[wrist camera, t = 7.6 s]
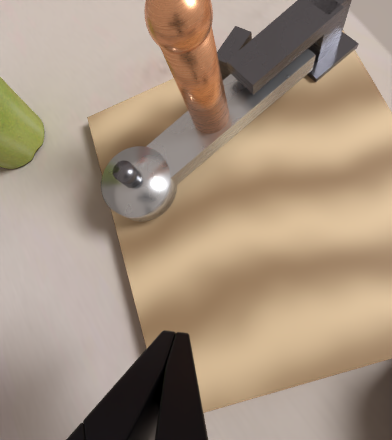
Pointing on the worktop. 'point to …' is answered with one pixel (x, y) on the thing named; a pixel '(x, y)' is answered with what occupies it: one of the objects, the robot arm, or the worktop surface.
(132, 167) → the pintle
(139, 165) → the latch lever
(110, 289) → the worktop surface
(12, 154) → the plant pot
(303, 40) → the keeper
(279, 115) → the board
